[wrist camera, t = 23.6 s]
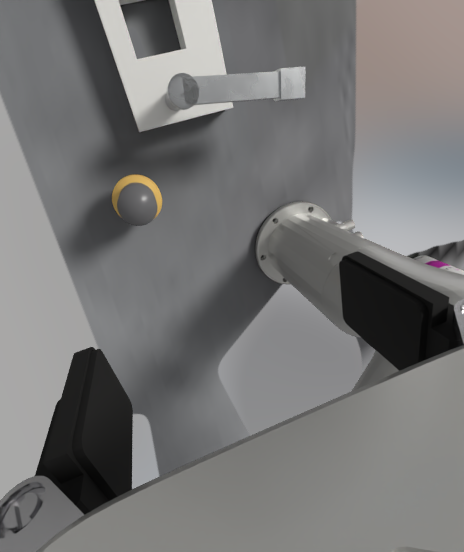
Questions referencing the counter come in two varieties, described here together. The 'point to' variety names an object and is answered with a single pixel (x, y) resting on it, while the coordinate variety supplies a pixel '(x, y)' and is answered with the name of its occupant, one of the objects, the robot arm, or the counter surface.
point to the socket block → (165, 61)
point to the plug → (136, 199)
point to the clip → (236, 87)
